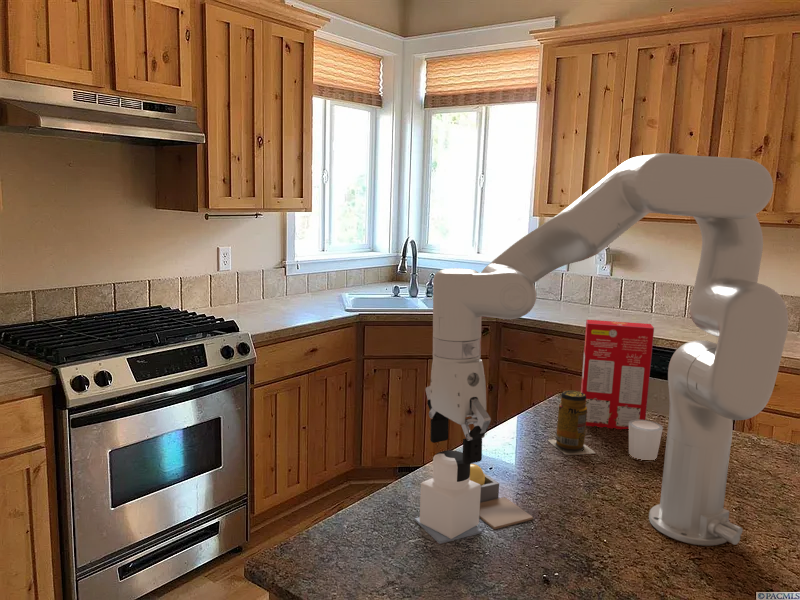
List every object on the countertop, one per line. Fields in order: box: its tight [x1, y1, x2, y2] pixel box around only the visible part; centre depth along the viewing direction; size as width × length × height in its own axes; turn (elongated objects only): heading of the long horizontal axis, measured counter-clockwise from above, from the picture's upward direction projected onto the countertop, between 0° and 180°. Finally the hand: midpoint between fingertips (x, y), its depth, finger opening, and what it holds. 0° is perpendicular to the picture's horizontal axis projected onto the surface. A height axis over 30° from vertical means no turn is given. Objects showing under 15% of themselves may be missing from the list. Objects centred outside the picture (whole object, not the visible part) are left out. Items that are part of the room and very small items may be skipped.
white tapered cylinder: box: [628, 419, 664, 461], centre depth 137 cm, size 7×7×7 cm
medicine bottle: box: [419, 449, 481, 539], centre depth 105 cm, size 7×7×12 cm
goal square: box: [414, 516, 483, 545], centre depth 106 cm, size 8×8×1 cm
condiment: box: [547, 390, 596, 456], centre depth 140 cm, size 7×8×12 cm
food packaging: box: [580, 319, 655, 430], centre depth 154 cm, size 15×5×25 cm, turn 77°
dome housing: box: [480, 472, 500, 503], centre depth 117 cm, size 7×7×3 cm
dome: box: [470, 463, 486, 485], centre depth 117 cm, size 5×5×5 cm
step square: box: [479, 496, 534, 530], centre depth 110 cm, size 8×8×1 cm
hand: (455, 451), depth 103 cm, fingers open, 9 cm apart
